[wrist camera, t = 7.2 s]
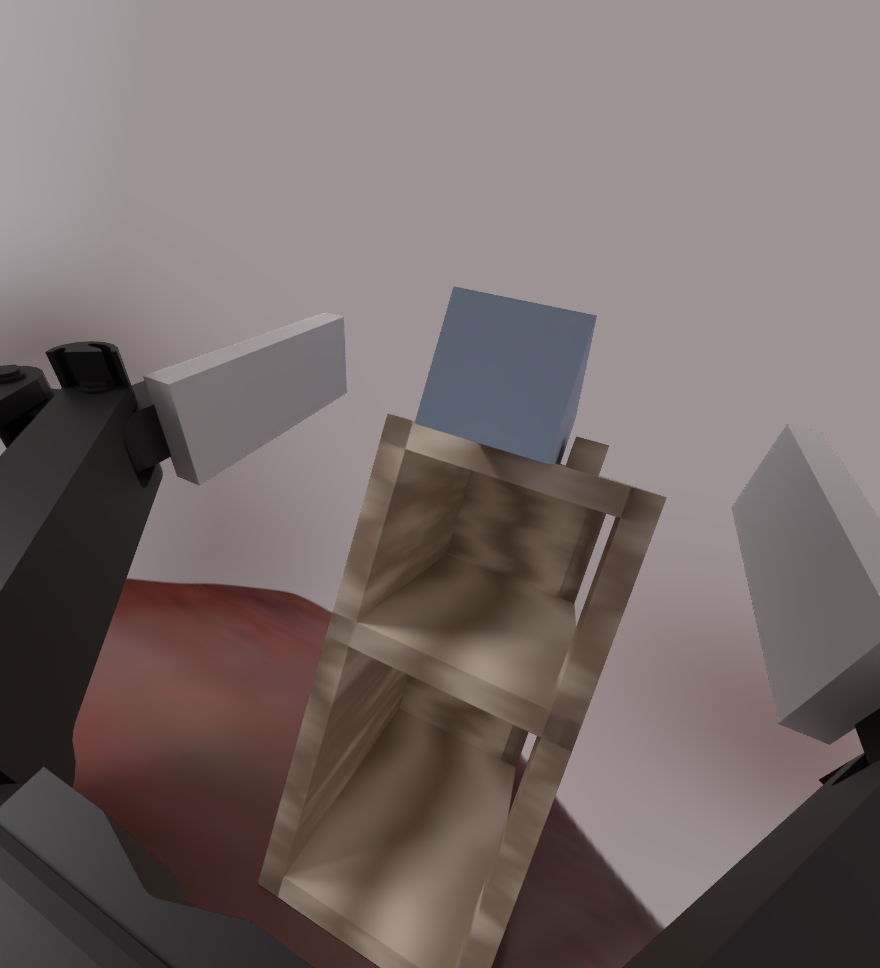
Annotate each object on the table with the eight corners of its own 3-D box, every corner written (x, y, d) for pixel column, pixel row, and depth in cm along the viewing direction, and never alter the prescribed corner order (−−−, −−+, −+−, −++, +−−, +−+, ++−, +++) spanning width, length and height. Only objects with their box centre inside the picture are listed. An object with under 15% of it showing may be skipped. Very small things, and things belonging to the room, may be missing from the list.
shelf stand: (257, 883, 26) (395, 385, 22) (387, 706, 45) (474, 422, 41) (468, 1028, 23) (678, 465, 19) (513, 769, 42) (621, 464, 38)
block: (414, 423, 12) (453, 286, 12) (515, 450, 37) (529, 406, 37) (547, 463, 11) (596, 315, 11) (560, 464, 36) (575, 419, 36)
